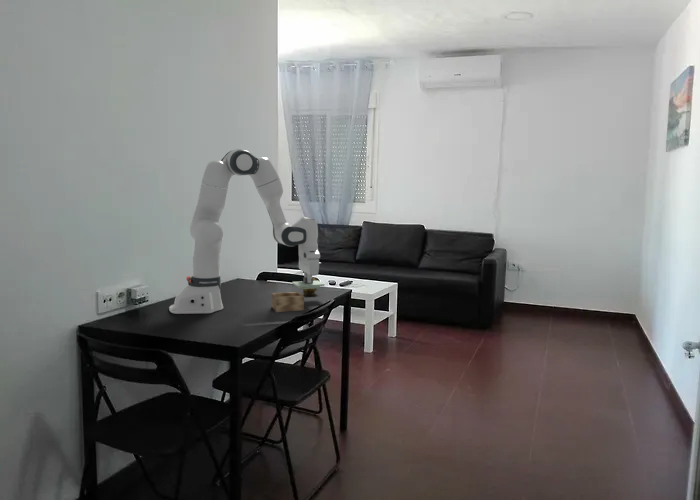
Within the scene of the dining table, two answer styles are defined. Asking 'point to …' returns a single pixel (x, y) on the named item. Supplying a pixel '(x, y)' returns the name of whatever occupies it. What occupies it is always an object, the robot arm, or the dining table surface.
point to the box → (287, 301)
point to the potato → (310, 290)
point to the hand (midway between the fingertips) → (307, 282)
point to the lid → (308, 284)
